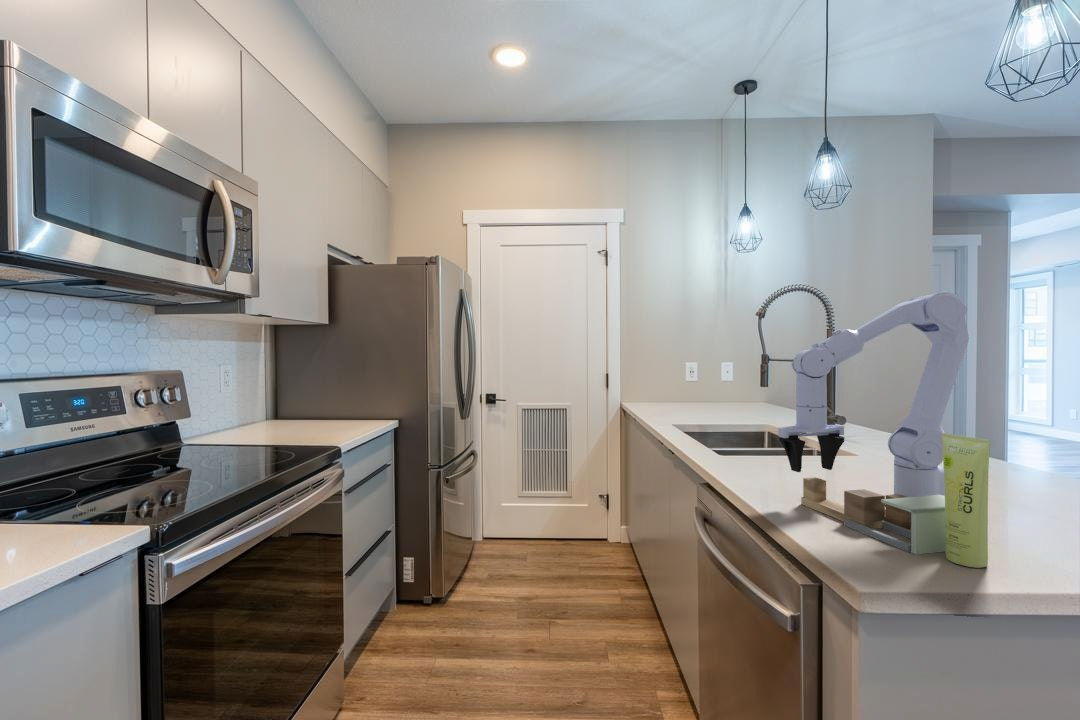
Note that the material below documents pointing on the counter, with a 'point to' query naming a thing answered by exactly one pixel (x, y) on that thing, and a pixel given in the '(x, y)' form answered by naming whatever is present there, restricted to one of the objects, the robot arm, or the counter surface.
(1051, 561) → the counter surface
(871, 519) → the cube
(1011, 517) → the counter surface
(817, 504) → the tan stepped wooden piece
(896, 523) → the block brown
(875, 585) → the counter surface
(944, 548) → the shelter
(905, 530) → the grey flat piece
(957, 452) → the tube
